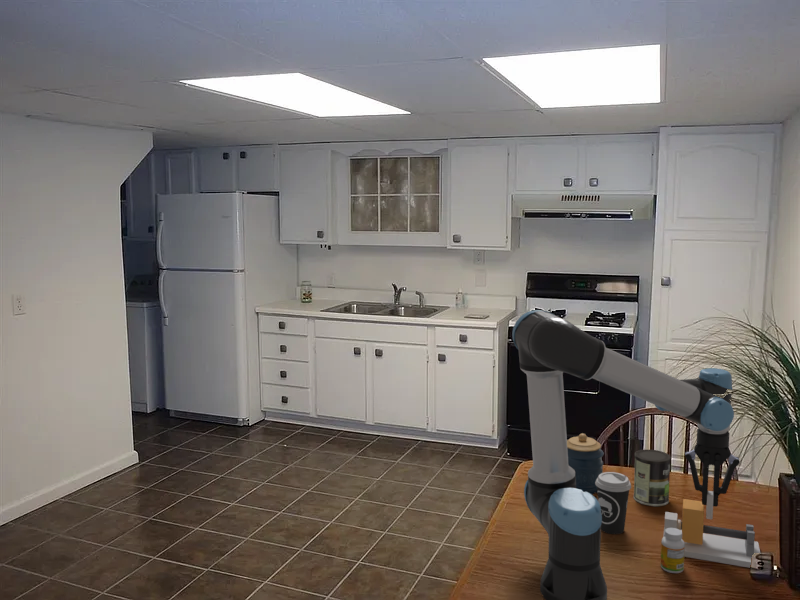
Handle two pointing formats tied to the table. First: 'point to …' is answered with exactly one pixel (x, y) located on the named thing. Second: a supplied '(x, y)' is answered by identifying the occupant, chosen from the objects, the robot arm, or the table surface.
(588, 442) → the canister
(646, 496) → the coffee can
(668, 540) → the supplement bottle
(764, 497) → the table surface
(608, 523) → the coffee cup
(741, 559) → the white slider rail stand
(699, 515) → the orange rectangular block
